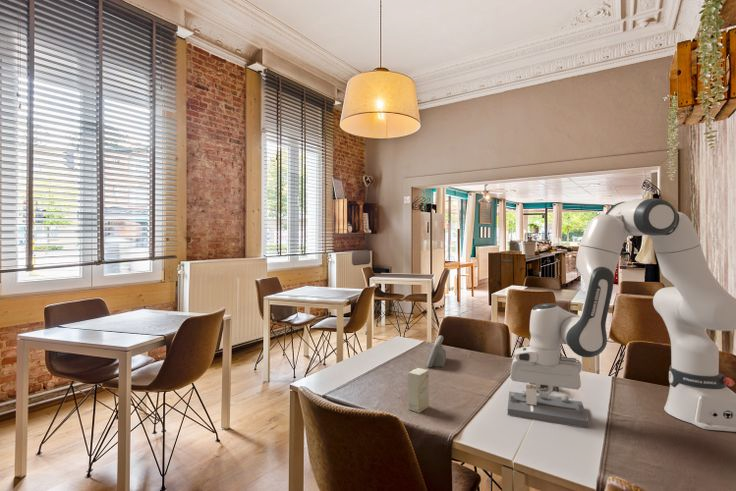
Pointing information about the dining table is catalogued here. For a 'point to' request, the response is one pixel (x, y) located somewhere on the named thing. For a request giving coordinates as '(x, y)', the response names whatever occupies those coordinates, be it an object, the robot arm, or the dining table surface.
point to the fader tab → (531, 394)
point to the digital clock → (437, 354)
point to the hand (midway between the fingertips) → (544, 398)
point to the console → (548, 409)
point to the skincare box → (418, 389)
